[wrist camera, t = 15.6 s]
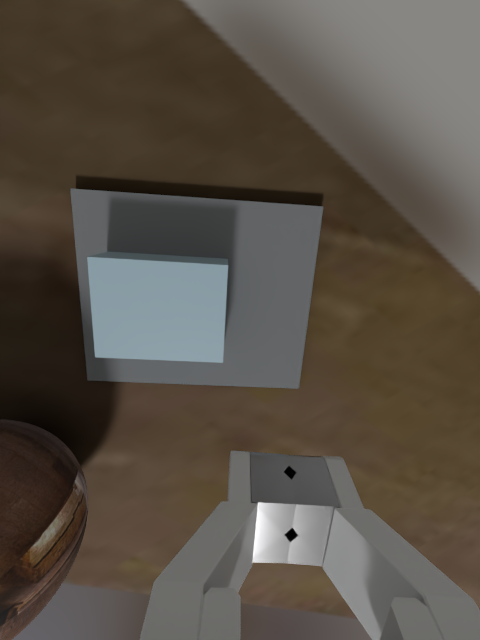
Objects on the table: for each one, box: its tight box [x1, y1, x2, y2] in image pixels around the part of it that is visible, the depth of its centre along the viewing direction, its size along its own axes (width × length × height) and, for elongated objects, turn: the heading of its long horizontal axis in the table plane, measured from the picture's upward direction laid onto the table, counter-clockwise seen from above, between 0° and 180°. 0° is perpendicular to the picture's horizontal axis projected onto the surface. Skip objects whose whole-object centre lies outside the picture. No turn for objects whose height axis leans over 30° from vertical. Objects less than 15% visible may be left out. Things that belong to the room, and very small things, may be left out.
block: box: [87, 251, 228, 363], centre depth 23 cm, size 4×7×9 cm
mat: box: [70, 189, 323, 389], centre depth 25 cm, size 18×15×1 cm
